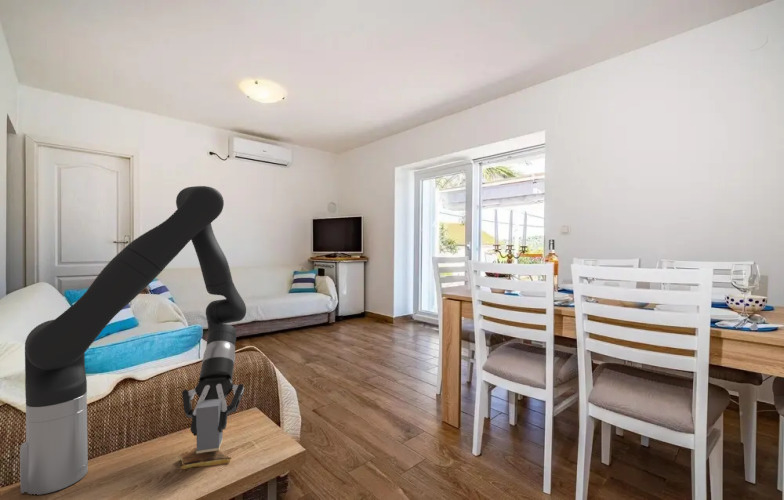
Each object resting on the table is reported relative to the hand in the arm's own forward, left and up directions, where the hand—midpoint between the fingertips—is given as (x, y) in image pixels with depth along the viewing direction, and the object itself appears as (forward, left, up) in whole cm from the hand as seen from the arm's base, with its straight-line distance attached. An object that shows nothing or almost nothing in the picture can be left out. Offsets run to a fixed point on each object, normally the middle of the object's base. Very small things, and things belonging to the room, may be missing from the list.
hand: (208, 432), depth 79 cm
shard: (-1, +2, -7) cm, 8 cm away
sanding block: (0, +2, -4) cm, 5 cm away
